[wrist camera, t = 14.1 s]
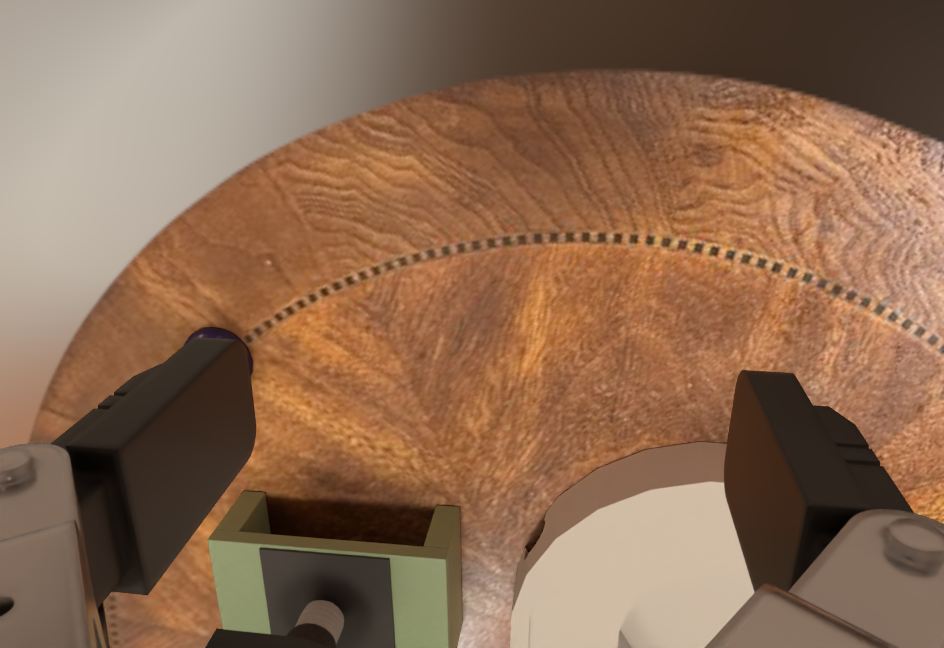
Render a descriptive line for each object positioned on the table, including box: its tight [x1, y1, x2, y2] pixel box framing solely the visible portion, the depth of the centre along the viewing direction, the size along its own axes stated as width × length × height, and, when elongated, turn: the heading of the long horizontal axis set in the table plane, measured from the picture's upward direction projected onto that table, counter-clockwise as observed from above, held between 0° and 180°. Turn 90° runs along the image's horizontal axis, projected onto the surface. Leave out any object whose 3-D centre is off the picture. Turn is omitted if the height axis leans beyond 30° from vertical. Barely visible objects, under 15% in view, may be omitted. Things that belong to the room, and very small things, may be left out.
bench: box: [208, 491, 462, 648], centre depth 45 cm, size 14×9×8 cm, turn 91°
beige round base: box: [510, 442, 754, 648], centre depth 45 cm, size 23×23×4 cm
